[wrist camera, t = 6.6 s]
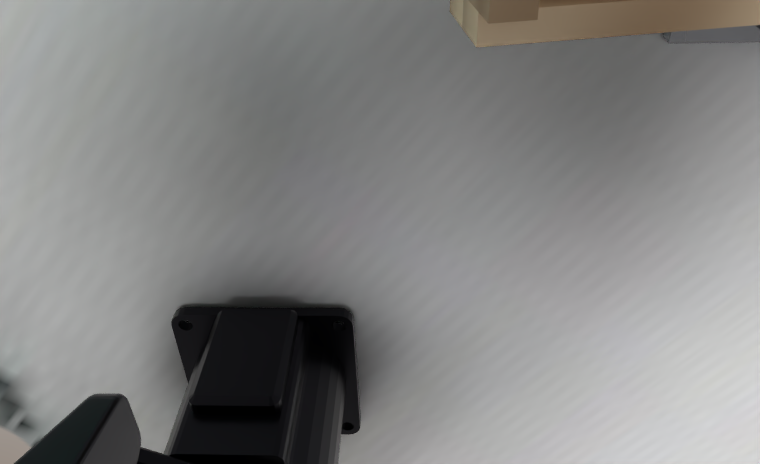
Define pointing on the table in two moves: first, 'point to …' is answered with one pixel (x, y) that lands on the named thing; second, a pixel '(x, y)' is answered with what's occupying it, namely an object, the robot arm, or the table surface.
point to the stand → (715, 35)
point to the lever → (593, 18)
